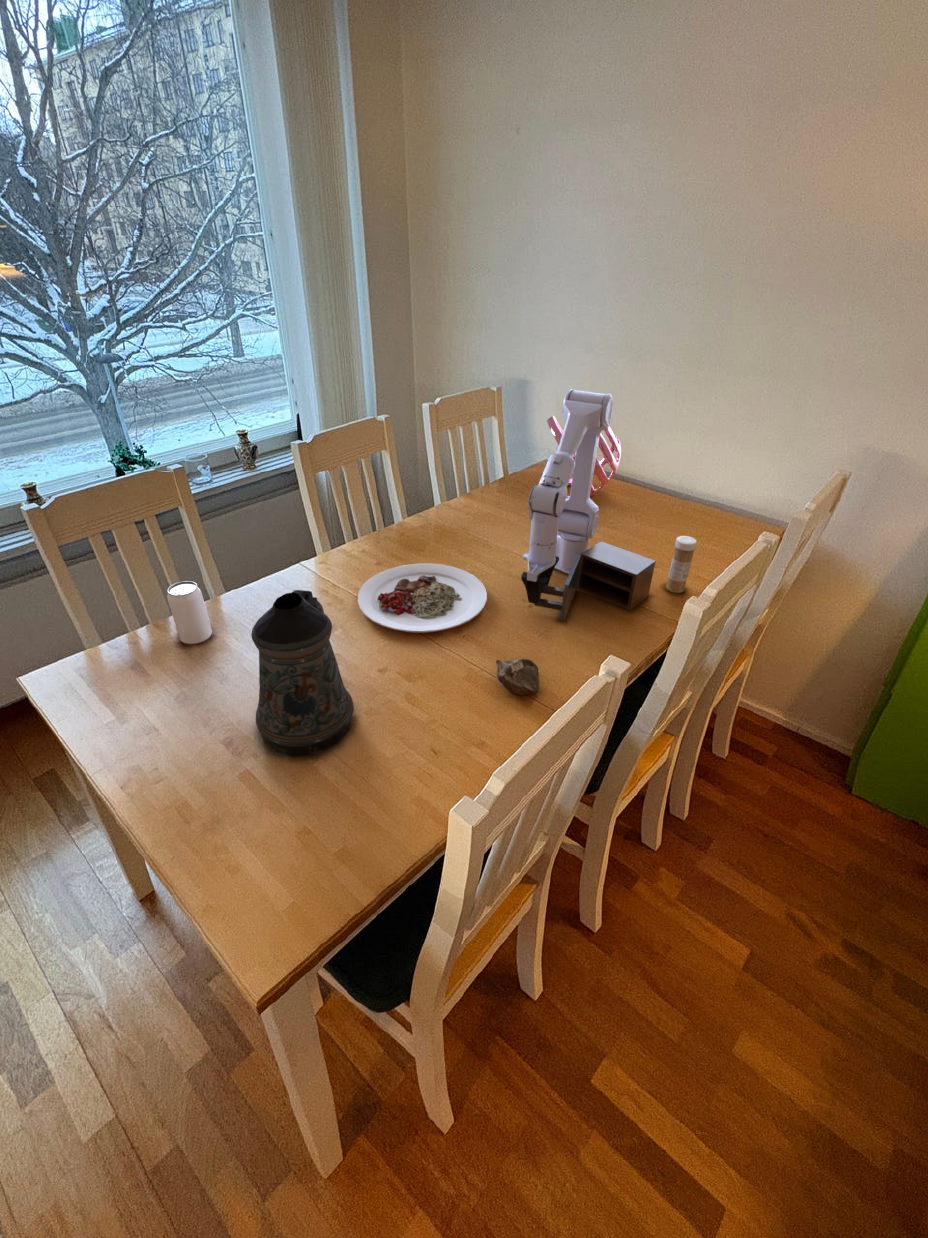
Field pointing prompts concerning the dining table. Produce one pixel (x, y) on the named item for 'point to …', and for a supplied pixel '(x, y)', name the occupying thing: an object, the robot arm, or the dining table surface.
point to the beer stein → (299, 678)
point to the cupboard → (615, 575)
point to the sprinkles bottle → (681, 564)
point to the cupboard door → (562, 592)
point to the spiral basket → (600, 464)
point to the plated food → (422, 597)
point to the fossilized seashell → (519, 676)
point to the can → (189, 612)
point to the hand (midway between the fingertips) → (538, 594)
